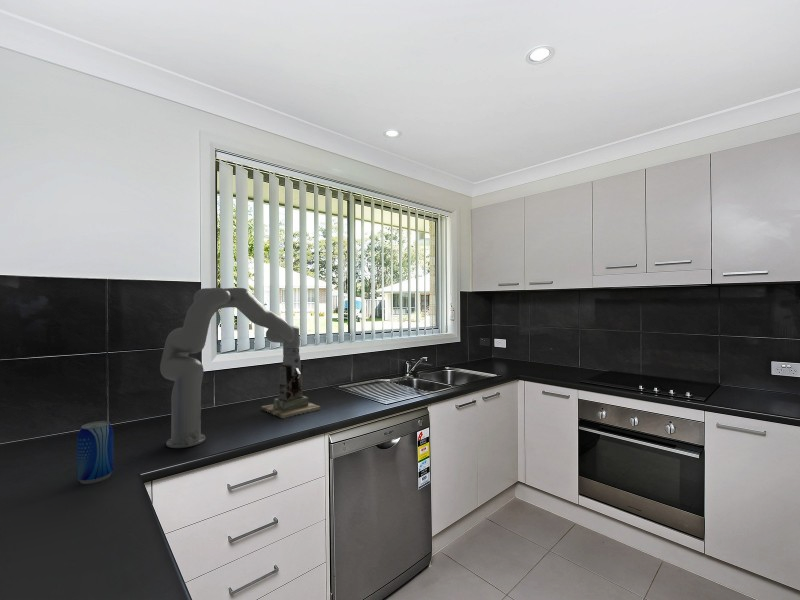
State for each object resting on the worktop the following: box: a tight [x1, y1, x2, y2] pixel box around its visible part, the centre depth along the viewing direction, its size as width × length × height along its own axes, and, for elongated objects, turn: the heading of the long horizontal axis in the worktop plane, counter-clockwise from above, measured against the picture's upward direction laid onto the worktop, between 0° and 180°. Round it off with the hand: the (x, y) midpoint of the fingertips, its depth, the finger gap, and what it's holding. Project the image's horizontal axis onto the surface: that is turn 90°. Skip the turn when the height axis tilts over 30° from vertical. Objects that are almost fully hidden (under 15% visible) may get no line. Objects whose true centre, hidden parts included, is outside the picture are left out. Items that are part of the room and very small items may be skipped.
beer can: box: [76, 420, 114, 485], centre depth 112 cm, size 8×8×16 cm
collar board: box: [261, 395, 321, 419], centre depth 182 cm, size 20×20×6 cm
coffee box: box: [279, 364, 303, 401], centre depth 182 cm, size 9×6×16 cm
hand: (291, 388), depth 182 cm, fingers closed on coffee box, 6 cm apart
